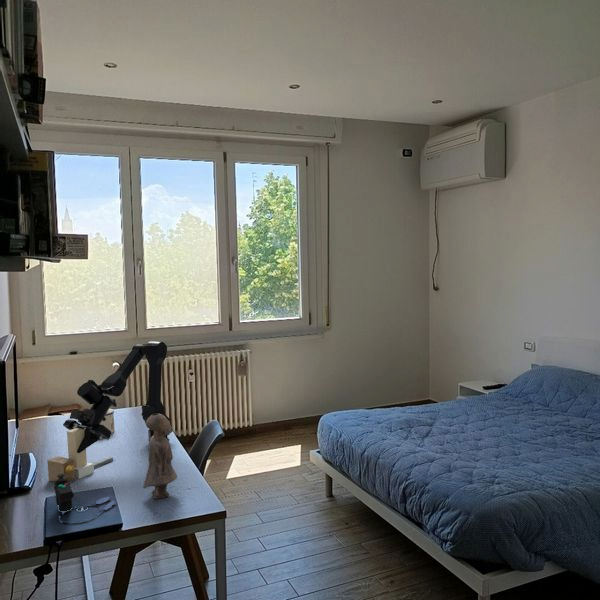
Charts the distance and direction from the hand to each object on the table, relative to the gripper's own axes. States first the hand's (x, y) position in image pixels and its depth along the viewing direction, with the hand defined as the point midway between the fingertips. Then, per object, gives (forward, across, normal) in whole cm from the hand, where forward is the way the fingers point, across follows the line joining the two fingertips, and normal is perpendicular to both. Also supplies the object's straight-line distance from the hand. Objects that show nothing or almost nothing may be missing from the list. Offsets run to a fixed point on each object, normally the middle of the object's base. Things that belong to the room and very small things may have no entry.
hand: (73, 451), depth 187 cm
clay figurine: (+6, +39, +6) cm, 40 cm away
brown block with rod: (+3, 0, +9) cm, 9 cm away
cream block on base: (+5, 0, +7) cm, 8 cm away
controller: (+20, +22, -9) cm, 31 cm away
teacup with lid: (-21, -31, +33) cm, 50 cm away
